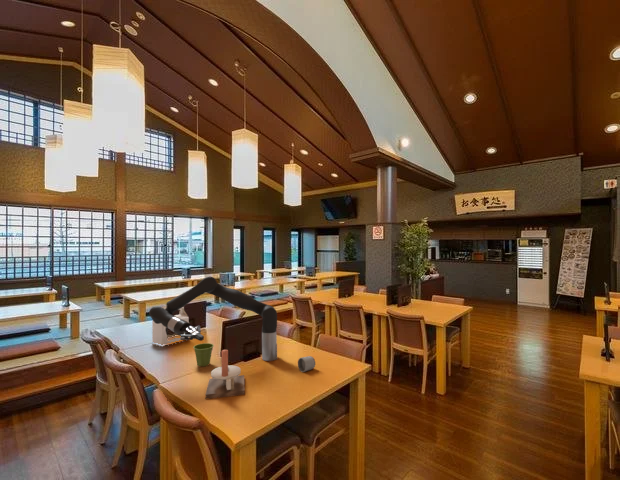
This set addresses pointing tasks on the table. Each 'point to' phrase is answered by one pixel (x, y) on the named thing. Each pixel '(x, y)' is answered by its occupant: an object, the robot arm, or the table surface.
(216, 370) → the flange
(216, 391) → the post base
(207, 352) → the plant pot
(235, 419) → the table surface
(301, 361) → the ceramic mug
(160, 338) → the gable box
